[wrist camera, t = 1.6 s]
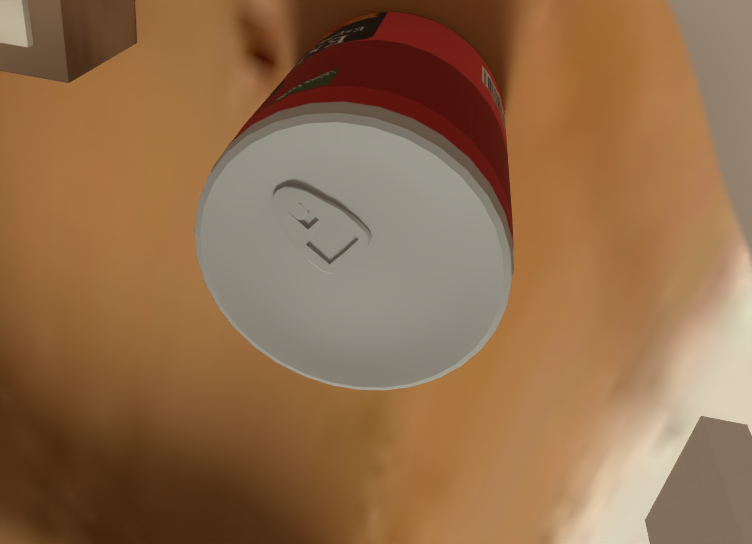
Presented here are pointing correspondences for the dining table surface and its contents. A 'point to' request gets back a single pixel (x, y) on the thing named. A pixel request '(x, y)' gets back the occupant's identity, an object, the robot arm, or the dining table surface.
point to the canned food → (366, 209)
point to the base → (63, 35)
